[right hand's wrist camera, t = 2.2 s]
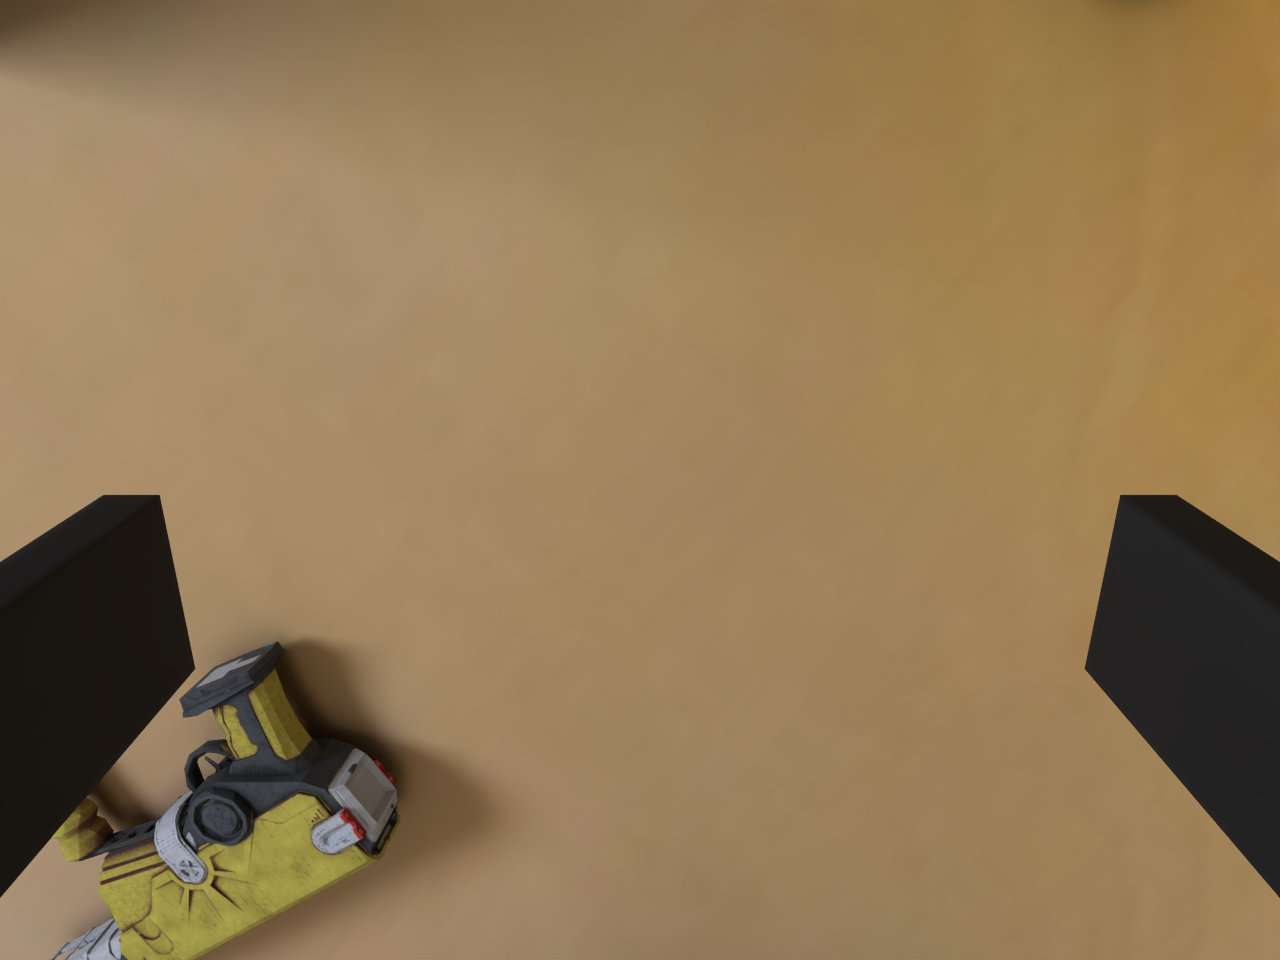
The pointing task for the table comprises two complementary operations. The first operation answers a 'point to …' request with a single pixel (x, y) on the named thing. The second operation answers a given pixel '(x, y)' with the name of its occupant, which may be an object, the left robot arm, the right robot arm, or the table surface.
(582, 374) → the table surface
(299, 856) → the toy gun
